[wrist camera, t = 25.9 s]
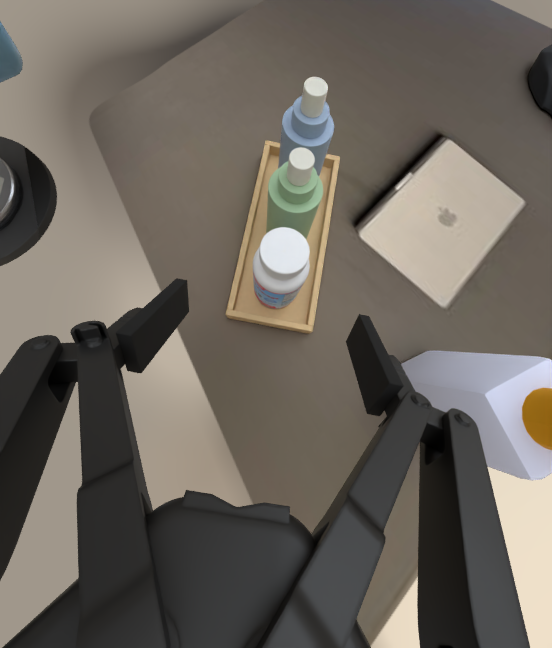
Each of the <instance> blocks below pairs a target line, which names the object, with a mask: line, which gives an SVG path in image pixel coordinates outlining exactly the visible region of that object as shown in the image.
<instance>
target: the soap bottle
mask: <svg viewBox="0 0 552 648" xmlns="http://www.w3.org/2000/svg"><path fill="white" fill-rule="evenodd" d="M401 365H402V367H403V369H404V371H405V373H406V375H407V376H408V378H409V380H410V382H411V384H412V386H413V388H414V389H415V391H416V392H418V393H420V394H422V395H423V396H425V397H426V398H427V399H428V400H429V401H430V403H431V405H432V407H434V408H437V409H439V410H441V411H443V412H447V411H448V410H450V409H451V408H455V409H458V410H461V411H463V412H464V413H466V414H468V415H469V416H470V417H471V418H472V419H473V420H474V421H475V423H476V424H477V427H478V430H479V434H480V438H481V442H482V447H483V451H484V455H485V459H486V464H487V466H488V467H491V468H493V469H496V470H499V471H502V472H504V473H507V474H510V475H513V476H516V477H519V478H522V479H528V480H538V479H543V478H545V477H546V476H548V475H550V474H551V473H552V361H551V360H550V359H547V358H543V357H536V356H519V355H502V354H485V353H468V352H451V351H426V352H424V353H422V354H420V355H418V356H416V357H414V358H412V359H410V360H408V361H406V362H404V363H402V364H401ZM419 442H420V441H419Z"/></svg>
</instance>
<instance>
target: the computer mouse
mask: <svg viewBox="0 0 552 648" xmlns="http://www.w3.org/2000/svg"><path fill="white" fill-rule="evenodd" d="M528 79H529V85H530V88H531V91H532V93H533V96H534V98H535V99H536V101H537V103H538V104H539V106H540V107H541V108H542V109H544V110H546V111H547V112H549V113H550V114H551V115H552V45H550V46H548V47H546V48H545V49H543V50H542V51H541V52H540V54H539V56H538V58H537V59H536V61H535V63H534V65H533V67H532V69H531V71H530V73H529V78H528Z"/></svg>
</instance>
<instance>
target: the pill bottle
mask: <svg viewBox="0 0 552 648" xmlns="http://www.w3.org/2000/svg"><path fill="white" fill-rule="evenodd" d="M309 254H310V250H309V245H308V242H307V241H306V239H305V238H304V236H303V235H302V234H300V233H299V232H298V231H296V230H294V229H291V228H286V227H280V228H276V229H273V230H271V231H269V232H268V233H267V234H266V235H265V236H264V237H263V239H262V241H261V243H260V247H259V248H258V250H257V251H256V253H255V255H254V258H253V281H254V292H255V295H256V297H257V299H258V300H259V302H260V303H261V304H263V305H264V306H266V307H268V308H271V309H281V308H284V307H286V306H288V305H289V304H290V303H291V302H292V301H293V300H294V299H295V297H296V295H297V294H298V292H299V291H300V289H301V287H302V285H303V284H304V282H305V280H306V279H307V276H308V273H309V268H310V265H309Z"/></svg>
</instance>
